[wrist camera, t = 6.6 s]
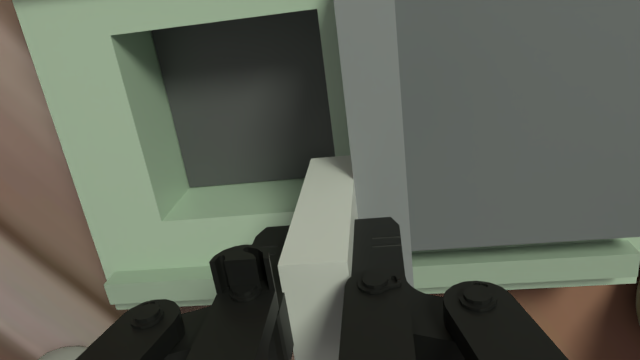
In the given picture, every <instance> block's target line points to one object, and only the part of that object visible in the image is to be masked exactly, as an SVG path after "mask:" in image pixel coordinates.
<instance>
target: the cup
mask: <svg viewBox="0 0 640 360" xmlns="http://www.w3.org/2000/svg"><path fill="white" fill-rule="evenodd" d="M87 348H88V347H84V346H69V347H63V348H59V349H56V350H53V351H50V352H47V353H46V354H45V355H43V356H42V357H41V358H39V359H38V360H75V359H76V358H78V357H79V356H80V355H81V354H82V353H83V352H84V351H85V350H86V349H87Z"/></svg>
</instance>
